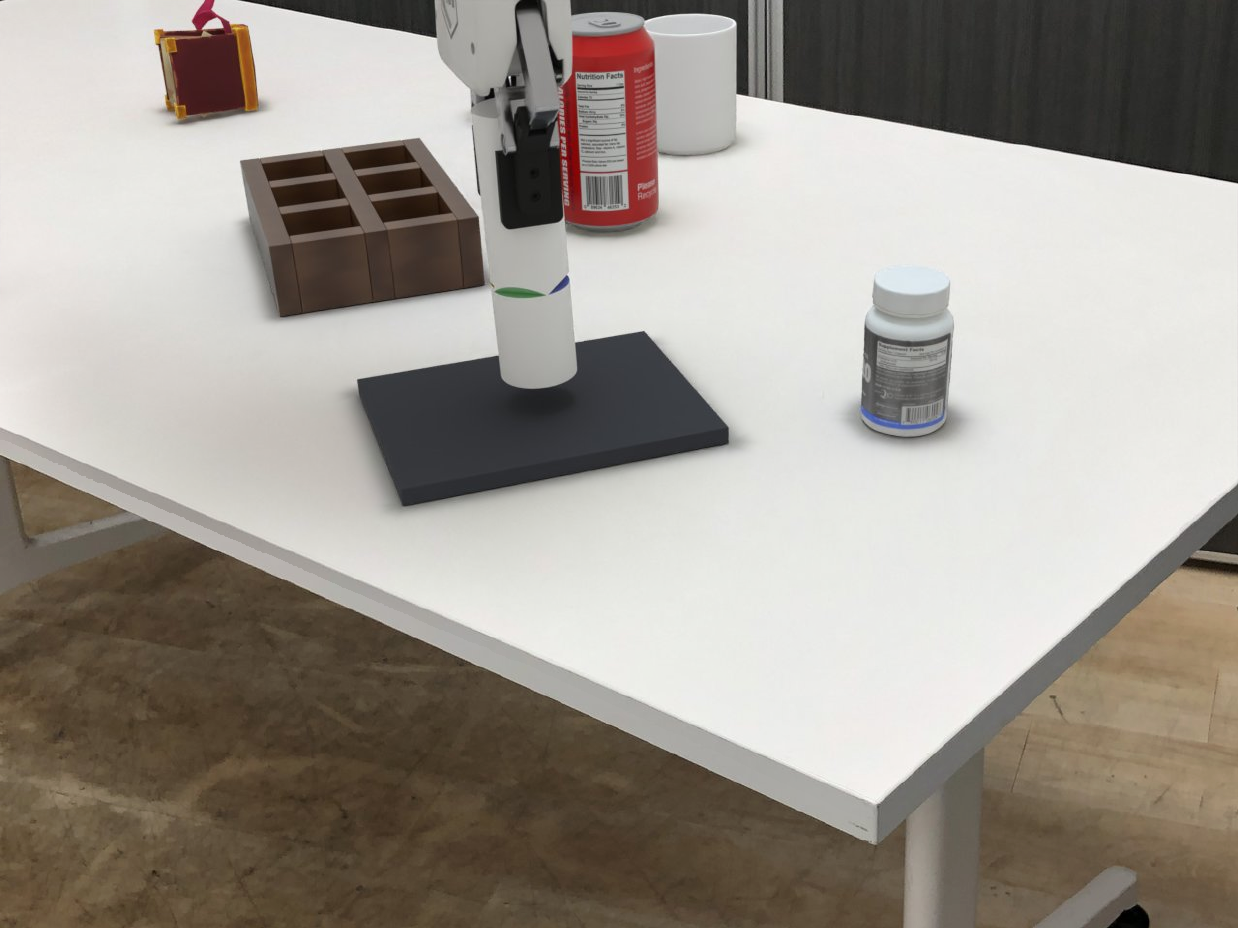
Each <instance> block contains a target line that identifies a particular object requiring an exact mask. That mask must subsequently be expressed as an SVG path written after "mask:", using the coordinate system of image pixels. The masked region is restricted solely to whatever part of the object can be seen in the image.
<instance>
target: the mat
mask: <svg viewBox="0 0 1238 928" xmlns="http://www.w3.org/2000/svg"><path fill="white" fill-rule="evenodd" d="M575 349H576V361H577V372H576V374H575V375H574V376H573V377H572V378H571V379H569V380H568V381H566V382H564V383H562V384H559V385H556V386H552V387H547V388H537V389H527V388H519V387H515V386H512V385H509V384H507V383H506V382H505V381H504V380H503V379H502V377H501V371H500V362H499V354H498V355H494V356H486V357H482V358H475V359H469V360H464V361H457V362H450V363H446V364H440V365H434V366H428V367H427V366H426V367H422V368H416V369H409V370H403V371H398V372H392V373H386V374H379V375H374V376H368V377H363V378H357V380H356V383H357V389H358V395H359V398H360V400H361V404H363V407H364V411H365V413H366V416H367V418H368V421H369V423H370V425H371V429H372V430H373V434H374V436H375V438H376V442H377V444H378V446H379V448H380V451H381V454H382V456H383V459H384V461H385V464H386V467H387V469H388V472H389V474H390V477H391V479H392V481H393V484H394V487H395V489H396V492H397V494H398V497H399V499H400V503H401V505H402V506H408V505H414V504H419V503H424V502H429V501H434V500H441V499H446V498H451V497H456V496H460V495H465V494H471V493H476V492H480V491H487V490H492V489H496V488H502V487H506V486H512V485H519V484H524V483H529V482H534V481H538V480H544V479H549V478H554V477H555V478H556V477H559V476H565V475H570V474H575V473H580V472H585V471H590V470H596V469H600V468H606V467H611V466H617V465H622V464H626V463H627V464H628V463H631V462H637V461H642V460H648V459H653V458H659V457H663V456H667V455H668V456H669V455H673V454H678V453H684V452H689V451H695V450H699V449H705V448H709V447H715V446H721V445H725V444H729V443H730V442H729V441H730V433H729V431H730V427H729V426H728V425H727V424H726V422H725V421H724V420H723V419H722V418H721V417H720V415H718V413H717V412H716V411H715V410H714V408H713V407H712V406H711V405H710V404H709V403H708V402H707V401H706V400H705V398H704V397H703V396H702V395H701V394H700V393H699V391H698V390H697V389H696V388H695V387H694V386H693V384H691V383H690V381H689V380H688V378H686V377H685V376H684V374H683V373H682V372H681V371H680V370H679V368H678V367H676V365H675V364H674V363H673V362H672V361H671V359H670V358H669V357H668V356H667V355H666V354H665V353H664V352H663V351H662V350H661V348H660V347H659V346H658V344H656V342H655V341H654V340H653V339H652V338H651V336H649V334H648V333H647V331H645V330H640V331H635V332H629V333H624V334H617V335H612V336H611V335H610V336H605V337H599V338H593V339H587V340H582V341H575Z"/></svg>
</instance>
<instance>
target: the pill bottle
mask: <svg viewBox="0 0 1238 928" xmlns="http://www.w3.org/2000/svg"><path fill="white" fill-rule="evenodd" d="M950 291H951V280H950V278H949V276H948V275H947V274H946V273H945V272H942V271H941V270H939V269H936V268H933V267H929V266H923V265H917V264H916V265H915V264H902V265H892V266H889V267H886V268H883V269H882V270H880V271H877V273H876V274H875V275H874V277H873V287H872V294H871V298H872V305H873V306H871V307H870V308H869V309H868V310H867V312H866V315H865V319H864V326H863V354H862V369H861V371H862V373H861V395H860V396H861V397H860V417H861V419H862V421H863V422H864V424H865V425H867V426H868V427H869V428H870V429H872V430H874V431H876V432H879V433H881V434H886V435H891V436H897V437H907V438H908V437H909V438H910V437H911V438H912V437H921V436H925V435H928V434H931V433H934V432H936V431H937V430H938V429H940V428H941V427H942V426H943V425H944V423H945V422H946V418H947V414H948V403H949V394H950V393H949V392H950V383H951V370H952V357H953V339H954V330H955V320H954V315H953V314H952V313H951V311H950V309H948V307H949V303H950V294H951V292H950Z"/></svg>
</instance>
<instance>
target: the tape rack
mask: <svg viewBox="0 0 1238 928" xmlns="http://www.w3.org/2000/svg"><path fill="white" fill-rule="evenodd" d="M239 164H240V170H241V176H242V182H243V189H244V193H245V194H244V195H245V200H246V205H247V206H246V207H247V211H248V218H249V223H250V226H251V229H252V232H253V236H254V239H255V241H256V246H257V248H258V251H259V254H260V257H261V261H262V264H263V267H264V271H265V273H266V276H267V281H268V283H269V286H270V289H271V292H272V296H273V299H274V302H275V306H276V308H277V311H278V315H279V317H286V316H294V315H299V314H306V313H312V312H317V311H325V310H331V309H339V308H344V307H351V306H356V305H364V304H369V303H373V302H374V303H377V302H382V301H390V300H395V299H403V298H408V297H416V296H421V295H428V294H429V295H430V294H436V293H441V292H448V291H455V290H460V289H467V288H474V287H479V286H484V285H486V283H485V270H484V262H483V260H484V259H483V247H482V237H481V226H480V217H479V215H478V214H477V213H476V211H475V210H474V208H473V207H472V206H471V205H470V203H469V202H468V200H467V198H465V196H464V195H463V194H462V192H461V191H460V190H459V188H458V187H457V186H456V184H455V183H454V181H452V179H451V178H450V176H449V175H448V174H447V172H446V171H445V169H444V168H443V167H442V166H441V164H440V163H439V162H438V160H437V159H436V158H435V156H434V155H433V153H432V152H431V151H430V149H429V148H428V147H427V146H426V144H425V143H424V142H423V140H422V139H421V138H420V137H415V138H408V139H398V140H391V141H390V140H389V141H383V142H373V143H366V144H357V145H351V146H343V147H342V146H341V147H335V148H327V149H320V150H319V149H318V150H313V151H305V152H296V153H290V154H289V153H288V154H282V155H281V154H279V155H272V156H265V157H260V158H259V157H257V158H249V159H248V158H247V159H241V160H239Z"/></svg>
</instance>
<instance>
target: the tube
mask: <svg viewBox="0 0 1238 928" xmlns="http://www.w3.org/2000/svg"><path fill="white" fill-rule="evenodd" d="M524 100H525V99H519V100H511V105H512V114H513V122H514V114H515V113H516V110H517V107H519V106H525V102H524ZM470 115H471V126H472V125H473V133H474V142H475V151H476V160H477V169H478V177H479V186H480V195H481V196H480V195H479V196H480V202H481V203H480V204H481V211H482V219H483V229H484V238H485V247H486V255H487V257H486V258H487V264H488V274H489V281H490V291H491V299H492V308H493V318H494V325H495V326H494V327H495V335H496V336H495V337H496V344H497V351H498V355H499V362H500V371H501V377H502V379H503V380H504V381H505V382H506V383H507V384H509V385H512V386H515V387H519V388H527V389H537V388H547V387H552V386H556V385H559V384H562V383H564V382H566V381H568V380H569V379H571V378H572V377H573V376H574V375H575V374H576V372H577V361H576V349H575V342H576V338H575V328H574V326H575V325H574V314H573V313H574V312H573V303H572V290H571V279H570V277H569V275H568V274H569V273H570V267H569V258H568V257H569V255H568V254H569V253H568V243H567V232H566V221H565V218H564V206H563V218H562V220H561V221H560V222H558V223H552V224H546V225H539V226H532V227H525V228H518V229H506V228H505V227H504V226H503V224H502V223H501V219H500V207H499V194H498V182H497V169H496V157H495V151H499V150H502V147H501V141H500V133H499V125H498V117H497V110H496V102H495V98H492V99H488V100H485V101H482V102H480V103H477V104H476V105H474V106H473V107H472V108H471V107H470ZM473 133H472V134H473ZM562 198H563V195H562Z"/></svg>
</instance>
